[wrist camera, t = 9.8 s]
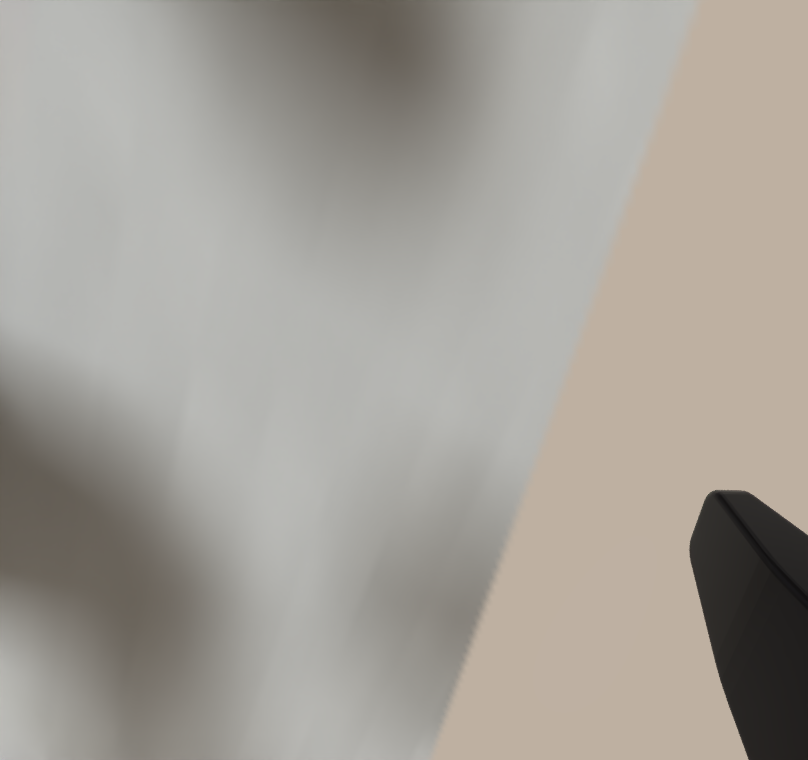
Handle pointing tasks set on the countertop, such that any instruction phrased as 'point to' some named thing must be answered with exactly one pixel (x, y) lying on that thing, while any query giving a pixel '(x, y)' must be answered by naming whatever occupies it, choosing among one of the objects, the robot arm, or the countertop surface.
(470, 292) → the countertop surface
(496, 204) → the countertop surface
